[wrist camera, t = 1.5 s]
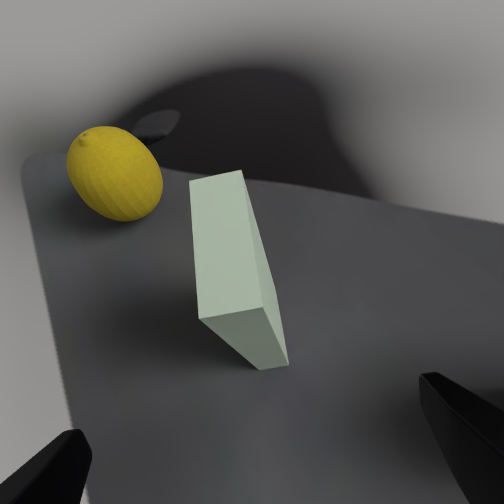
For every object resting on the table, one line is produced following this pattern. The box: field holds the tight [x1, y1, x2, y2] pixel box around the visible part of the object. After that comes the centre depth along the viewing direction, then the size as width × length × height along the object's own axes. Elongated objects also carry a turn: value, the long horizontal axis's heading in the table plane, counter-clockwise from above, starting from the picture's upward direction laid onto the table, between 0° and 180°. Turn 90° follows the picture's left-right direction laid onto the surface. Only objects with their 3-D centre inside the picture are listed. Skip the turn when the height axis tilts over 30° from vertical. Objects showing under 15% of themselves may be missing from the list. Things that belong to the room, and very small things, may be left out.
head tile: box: [189, 170, 289, 370], centre depth 16 cm, size 2×5×12 cm, turn 8°
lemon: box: [67, 126, 163, 221], centre depth 23 cm, size 6×6×8 cm
